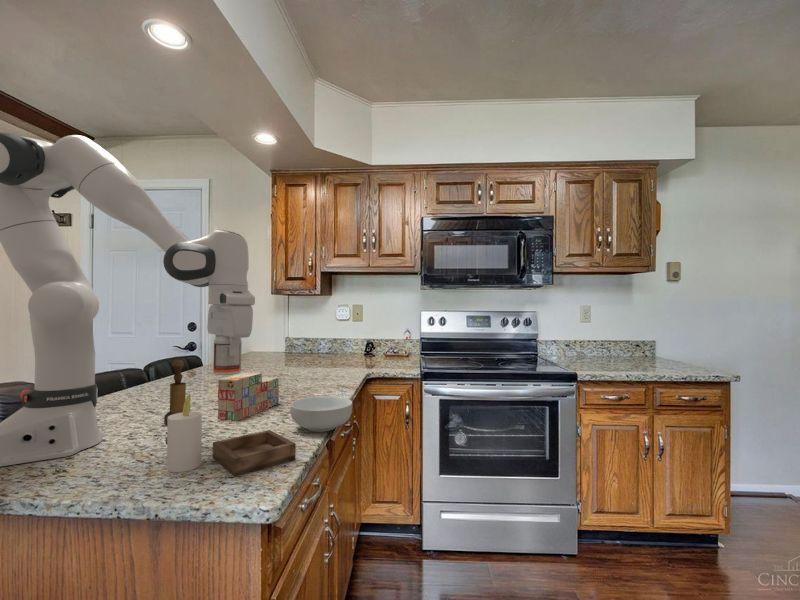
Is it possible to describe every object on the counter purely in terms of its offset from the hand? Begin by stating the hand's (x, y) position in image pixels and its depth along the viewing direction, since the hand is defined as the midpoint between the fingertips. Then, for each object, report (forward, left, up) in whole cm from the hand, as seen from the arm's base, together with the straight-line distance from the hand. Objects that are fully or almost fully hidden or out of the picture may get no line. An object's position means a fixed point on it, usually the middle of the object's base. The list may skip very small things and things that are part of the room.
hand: (227, 354), depth 96 cm
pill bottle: (0, 0, -5) cm, 5 cm away
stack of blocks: (+16, +26, -22) cm, 38 cm away
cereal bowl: (+24, -4, -22) cm, 33 cm away
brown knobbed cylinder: (-4, +29, -22) cm, 36 cm away
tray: (+1, -14, -22) cm, 26 cm away
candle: (-11, -8, -22) cm, 26 cm away
